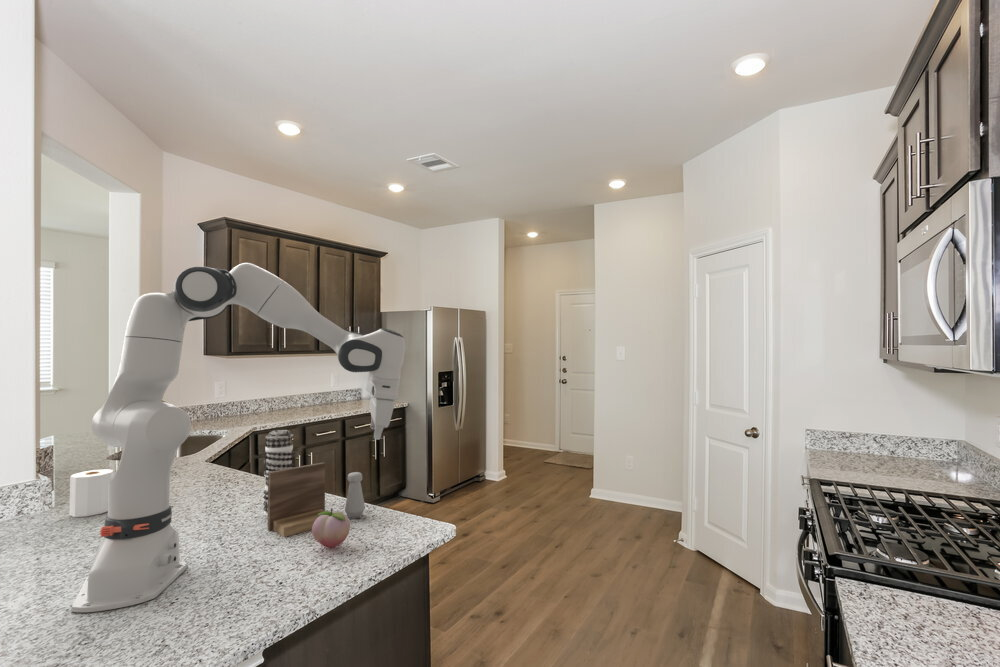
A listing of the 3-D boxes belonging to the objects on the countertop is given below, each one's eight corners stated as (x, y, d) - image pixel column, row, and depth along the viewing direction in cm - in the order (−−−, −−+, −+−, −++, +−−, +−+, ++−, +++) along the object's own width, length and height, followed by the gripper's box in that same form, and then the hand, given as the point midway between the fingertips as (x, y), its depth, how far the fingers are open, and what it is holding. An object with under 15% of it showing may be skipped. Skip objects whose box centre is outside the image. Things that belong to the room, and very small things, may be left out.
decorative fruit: (357, 543, 124) (357, 504, 124) (338, 556, 116) (338, 515, 116) (326, 539, 127) (326, 501, 127) (305, 552, 119) (306, 511, 119)
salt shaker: (367, 513, 147) (367, 470, 147) (360, 519, 141) (360, 475, 142) (349, 512, 148) (349, 470, 148) (341, 519, 142) (341, 475, 142)
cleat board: (336, 522, 139) (336, 467, 140) (280, 538, 128) (280, 477, 128) (322, 515, 145) (322, 462, 146) (267, 529, 134) (268, 472, 134)
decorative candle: (255, 515, 145) (256, 433, 146) (276, 506, 154) (276, 428, 155) (280, 518, 143) (281, 434, 144) (300, 508, 152) (301, 429, 153)
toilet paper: (69, 511, 150) (70, 472, 151) (111, 504, 157) (112, 467, 158) (69, 519, 143) (70, 479, 143) (113, 511, 150) (114, 473, 150)
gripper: (368, 377, 144) (361, 422, 145) (375, 393, 125) (366, 444, 126) (389, 380, 146) (382, 424, 147) (399, 395, 127) (390, 445, 128)
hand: (375, 433), depth 136 cm, fingers open, 8 cm apart
